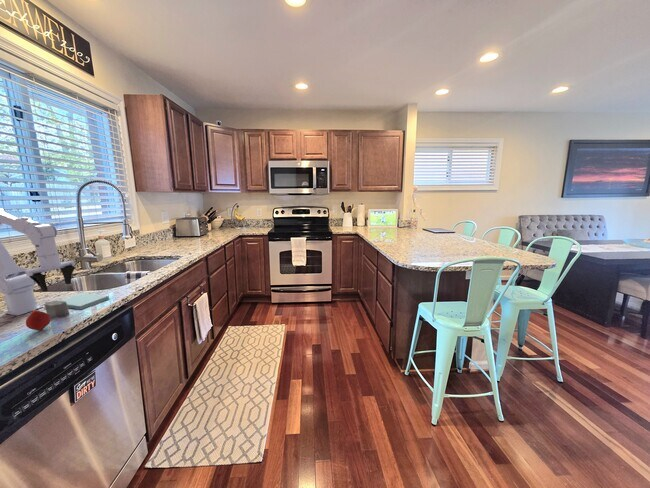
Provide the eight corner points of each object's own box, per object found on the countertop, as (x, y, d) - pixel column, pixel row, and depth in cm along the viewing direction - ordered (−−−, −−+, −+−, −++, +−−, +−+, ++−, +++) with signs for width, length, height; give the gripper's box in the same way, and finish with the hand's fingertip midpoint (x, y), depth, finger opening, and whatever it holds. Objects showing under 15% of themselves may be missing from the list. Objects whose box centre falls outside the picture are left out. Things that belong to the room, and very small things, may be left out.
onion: (51, 324, 97) (46, 304, 95) (53, 329, 93) (47, 308, 92) (28, 331, 93) (22, 310, 91) (29, 336, 89) (22, 315, 87)
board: (53, 305, 115) (53, 302, 115) (83, 295, 125) (82, 292, 125) (81, 309, 109) (80, 306, 109) (109, 298, 120) (108, 295, 119)
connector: (41, 315, 106) (38, 303, 105) (54, 310, 109) (51, 299, 108) (59, 318, 102) (56, 306, 101) (71, 313, 106) (68, 302, 105)
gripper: (29, 260, 96) (39, 294, 99) (76, 250, 109) (84, 281, 112) (18, 259, 98) (28, 293, 101) (65, 250, 111) (73, 280, 114)
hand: (57, 287), depth 106 cm, fingers open, 7 cm apart
